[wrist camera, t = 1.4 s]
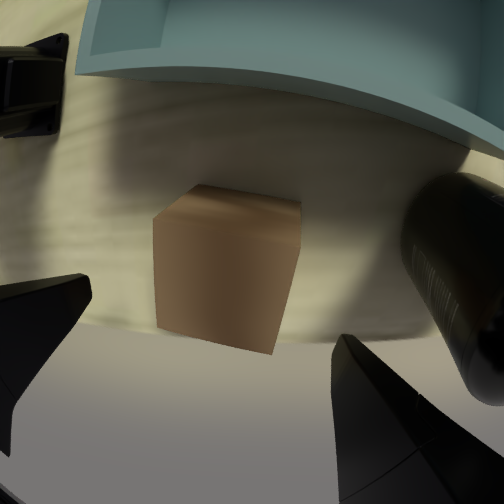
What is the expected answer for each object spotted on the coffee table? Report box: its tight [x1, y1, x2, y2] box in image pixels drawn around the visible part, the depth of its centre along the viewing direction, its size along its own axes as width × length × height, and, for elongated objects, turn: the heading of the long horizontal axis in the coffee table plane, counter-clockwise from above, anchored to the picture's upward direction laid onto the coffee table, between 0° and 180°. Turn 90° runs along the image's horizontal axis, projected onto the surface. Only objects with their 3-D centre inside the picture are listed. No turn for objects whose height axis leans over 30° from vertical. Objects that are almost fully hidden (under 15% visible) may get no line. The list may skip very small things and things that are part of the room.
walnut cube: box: [153, 184, 301, 355], centre depth 13 cm, size 5×5×5 cm
